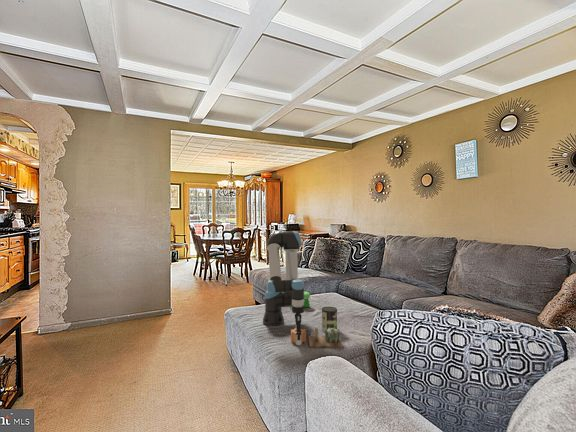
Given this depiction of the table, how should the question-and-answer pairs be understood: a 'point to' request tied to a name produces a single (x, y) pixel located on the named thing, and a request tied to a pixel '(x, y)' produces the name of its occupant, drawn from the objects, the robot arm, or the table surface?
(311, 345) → the gear board
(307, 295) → the toy character
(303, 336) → the loose gear
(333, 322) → the coffee can
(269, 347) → the table surface
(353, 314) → the table surface
